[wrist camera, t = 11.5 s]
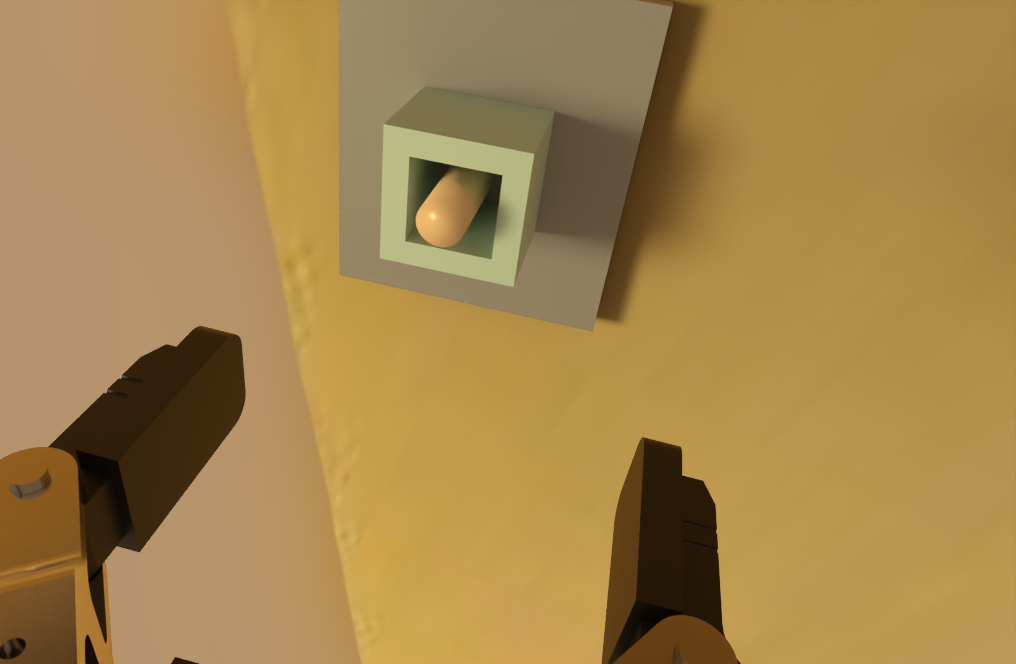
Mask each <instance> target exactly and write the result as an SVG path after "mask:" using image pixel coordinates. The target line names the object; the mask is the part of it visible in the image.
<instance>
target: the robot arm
mask: <svg viewBox="0 0 1016 664" xmlns="http://www.w3.org/2000/svg"><path fill="white" fill-rule="evenodd" d="M244 403H245V380H244V368H243V355H242V343H241V339H240V337H239V336H238V335H235V334H231V333H227V332H223V331H219V330H215V329H211V328H207V327H203V326H199V327H196V328H195V329H193V330H192V331H191V332H190V333H189V335H187V336H186V337H185V338H184V339H183V341H182V342H181V343H180V344H179V345H178V346H177V347H175V346H171V345H164V346H162V347H160V348H158V349H156V350H154V351H152V352H150V353H148V354H146V355H144V356H142V357H140V358H139V359H138V360H137V361H136V362H135V363H134V364H133V365H132V366H131V367H130V368H129V369H128V370H127V371H126V372H125V373H124V374H123V375H122V378H121V379H118V380H117V381H116V382H115V383H114V384H112V385H111V386H110V387H109V388H108V390H107V393H103V394H102V395H101V396H100V397H99V398H98V399H97V400H96V401H95V402H94V403H93V404H92V405H91V406H90V407H89V408H88V409H87V410H86V411H85V412H84V413H83V414H82V415H81V416H80V417H79V418H77V419H76V421H74V423H72V424H71V425H70V426H69V427H68V428H67V429H66V430H65V431H64V432H63V433H62V434H61V435H60V436H59V437H58V438H57V439H56V440H55V441H54V442H53V443H52V444H51V445H50V446H49V447H39V448H38V447H37V448H30V449H26V450H22V451H18V452H15V453H13V454H10V455H8V456H6V457H4V458H2V459H1V460H0V664H113V656H112V642H111V628H110V613H109V597H108V582H107V568H106V564H105V560H106V559H107V557H108V556H109V555H110V553H111V552H112V551H113V549H115V547H116V546H118V547H122V548H126V549H129V550H133V551H137V552H140V551H141V550H142V548H143V547H144V546H145V544H146V543H147V541H148V540H149V539H150V538H151V536H152V535H153V534H154V532H155V531H156V530H157V528H158V527H159V526H160V524H161V523H162V522H163V520H164V519H165V518H166V516H167V515H168V514H169V512H170V511H171V510H172V508H173V507H174V506H175V504H176V503H177V502H178V500H179V499H180V498H181V496H182V495H183V494H184V492H185V491H186V490H187V488H188V487H189V486H190V484H191V483H192V482H193V480H194V479H195V478H196V476H197V475H198V474H199V472H200V471H201V470H202V468H203V467H204V466H205V464H206V463H207V462H208V460H209V459H210V458H211V456H212V455H213V454H214V452H215V451H216V450H217V448H218V447H219V446H220V444H221V443H222V442H223V440H224V439H225V438H226V436H227V435H228V434H229V432H230V431H231V430H232V428H233V427H234V426H235V424H236V423H237V421H238V419H239V417H240V415H241V413H242V410H243V407H244ZM716 529H717V525H716V507H715V503H714V501H713V499H712V497H711V495H710V493H709V491H708V490H707V488H706V486H705V484H704V482H703V481H702V480H698V479H694V478H690V477H686V476H682V450H681V447H680V446H676V445H672V444H668V443H664V442H660V441H656V440H652V439H648V438H644V437H642V438H641V440H640V442H639V444H638V447H637V450H636V452H635V455H634V458H633V460H632V463H631V466H630V469H629V471H628V474H627V477H626V479H625V482H624V485H623V488H622V490H621V494H620V497H619V501H618V505H617V510H616V515H615V523H614V533H613V544H612V555H611V566H610V577H609V589H608V600H607V611H606V622H605V633H604V644H603V655H602V664H740V662H739V661H738V660H737V658H736V656H735V653H734V651H733V649H732V647H731V645H730V644H729V642H728V641H727V640H726V638H725V635H724V632H723V625H722V610H721V593H720V576H719V559H718V553H717V549H718V542H717V533H716ZM171 664H198V663H195V662H191V661H188V660H184V659H180V658H177V657H175V658H174V660H173V662H172V663H171Z"/></svg>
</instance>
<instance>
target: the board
mask: <svg viewBox="0 0 1016 664" xmlns="http://www.w3.org/2000/svg"><path fill="white" fill-rule="evenodd" d="M672 9H673V2H671V1H666V0H339V247H340V275H343V276H347V277H352V278H356V279H361V280H365V281H370V282H374V283H379V284H383V285H388V286H392V287H396V288H401V289H405V290H410V291H414V292H419V293H423V294H428V295H432V296H437V297H441V298H445V299H450V300H454V301H459V302H463V303H468V304H472V305H477V306H481V307H486V308H490V309H494V310H499V311H503V312H508V313H512V314H517V315H521V316H526V317H530V318H535V319H539V320H543V321H548V322H552V323H557V324H561V325H566V326H570V327H575V328H579V329H584V330H588V331H592V332H593V328H594V324H595V320H596V316H597V312H598V308H599V304H600V300H601V296H602V292H603V288H604V284H605V279H606V275H607V271H608V267H609V263H610V259H611V255H612V251H613V247H614V243H615V239H616V235H617V231H618V227H619V223H620V219H621V215H622V211H623V207H624V203H625V199H626V195H627V191H628V187H629V183H630V178H631V174H632V170H633V166H634V162H635V158H636V154H637V150H638V146H639V142H640V138H641V134H642V130H643V126H644V122H645V118H646V114H647V110H648V106H649V102H650V98H651V94H652V90H653V86H654V82H655V77H656V73H657V69H658V65H659V61H660V57H661V53H662V49H663V45H664V41H665V37H666V33H667V29H668V25H669V21H670V17H671V13H672ZM424 86H426V87H431V88H436V89H441V90H446V91H452V92H457V93H462V94H467V95H472V96H478V97H483V98H488V99H493V100H499V101H504V102H509V103H514V104H519V105H525V106H530V107H535V108H540V109H545V110H551V111H555V113H554V119H553V125H552V131H551V137H550V143H549V149H548V155H547V161H546V167H545V173H544V179H543V185H542V191H541V197H540V203H539V209H538V215H537V221H536V227H535V232H534V235H533V238H532V240H531V243H530V246H529V248H528V251H527V253H526V256H525V259H524V261H523V264H522V266H521V269H520V272H519V274H518V277H517V279H516V282H515V285H514V287H511V286H506V285H502V284H497V283H492V282H488V281H483V280H478V279H474V278H469V277H465V276H460V275H455V274H451V273H446V272H441V271H437V270H432V269H427V268H423V267H418V266H413V265H409V264H404V263H400V262H395V261H390V260H386V259H381V258H380V233H381V198H382V162H383V127H384V123H385V122H386V121H387V120H389V119H390V118H391V117H392V116H393V115H394V114H395V113H396V112H397V111H398V110H399V109H401V108H402V107H403V106H404V105H405V104H406V103H407V102H408V101H409V100H410V99H411V98H412V97H414V96H415V95H416V94H417V93H418V92H419V91H420V90H421V89H422V88H423V87H424ZM502 176H503V175H499V174H494V173H489V172H484V171H479V170H474V169H469V168H464V167H459V166H454V165H449V164H444V163H442V176H441V180H440V181H439V182H438V184H437V185H436V187H435V188H434V189H433V191H432V192H431V193H430V195H429V196H428V198H427V199H426V200H425V202H424V203H423V204H422V206H421V207H420V209H419V210H418V212H417V215H416V226H417V229H418V232H419V233H420V235H421V236H422V237H423V238H424V239H425V240H426V241H427V242H428V243H430V244H432V245H434V246H438V247H450V246H453V245H455V244H457V243H458V242H459V241H460V240H461V239H462V237H463V235H464V234H465V232H466V230H467V228H468V226H469V225H470V223H471V221H472V219H473V218H474V216H475V214H476V212H477V210H478V209H479V207H480V205H481V203H482V202H483V200H485V201H490V202H495V203H499V199H500V192H501V184H502Z"/></svg>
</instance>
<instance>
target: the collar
mask: <svg viewBox="0 0 1016 664" xmlns="http://www.w3.org/2000/svg"><path fill="white" fill-rule="evenodd" d="M554 113H555V111H551V110H545V109H540V108H535V107H530V106H525V105H519V104H514V103H509V102H504V101H499V100H493V99H488V98H483V97H478V96H472V95H467V94H462V93H457V92H452V91H446V90H441V89H436V88H431V87H426V86H424V87H423V88H422V89H421V90H420V91H419V92H418V93H417V94H416V95H415V96H414V97H412V98H411V99H410V100H409V101H408V102H407V103H406V104H405V105H404V106H403V107H402V108H401V109H399V110H398V111H397V112H396V113H395V114H394V115H393V116H392V117H391V118H390V119H389V120H387V121H386V122H385V123H384V127H383V162H382V198H381V233H380V258H381V259H386V260H390V261H395V262H400V263H404V264H409V265H413V266H418V267H423V268H427V269H432V270H437V271H441V272H446V273H451V274H455V275H460V276H465V277H469V278H474V279H478V280H483V281H488V282H492V283H497V284H502V285H506V286H511V287H514V285H515V282H516V279H517V277H518V274H519V272H520V269H521V266H522V264H523V261H524V259H525V256H526V253H527V251H528V248H529V246H530V243H531V240H532V238H533V235H534V232H535V227H536V221H537V215H538V209H539V203H540V197H541V191H542V185H543V179H544V173H545V167H546V161H547V155H548V149H549V143H550V137H551V131H552V125H553V119H554ZM442 163H444V164H449V165H454V166H459V167H464V168H469V169H474V170H479V171H484V172H489V173H494V174H499V175H503V176H502V184H501V192H500V199H499V203H495V202H490V201H485V200H483V202H482V203H481V205H480V207H479V209H478V210H477V212H476V214H475V216H474V218H473V219H472V221H471V223H470V225H469V226H468V228H467V230H466V232H465V234H464V235H463V237H462V239H461V240H460V241H459V242H458V243H457V244H455V245H453V246H450V247H438V246H434V245H432V244H430V243H428V242H427V241H426V240H425V239H424V238H423V237H422V236H421V235H420V233H419V232H418V229H417V226H416V215H417V212H418V210H419V209H420V207H421V206H422V204H423V203H424V202H425V200H426V199H427V198H428V196H429V195H430V193H431V192H432V191H433V189H434V188H435V187H436V185H437V184H438V182H439V181H440V180H441V176H442Z"/></svg>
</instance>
